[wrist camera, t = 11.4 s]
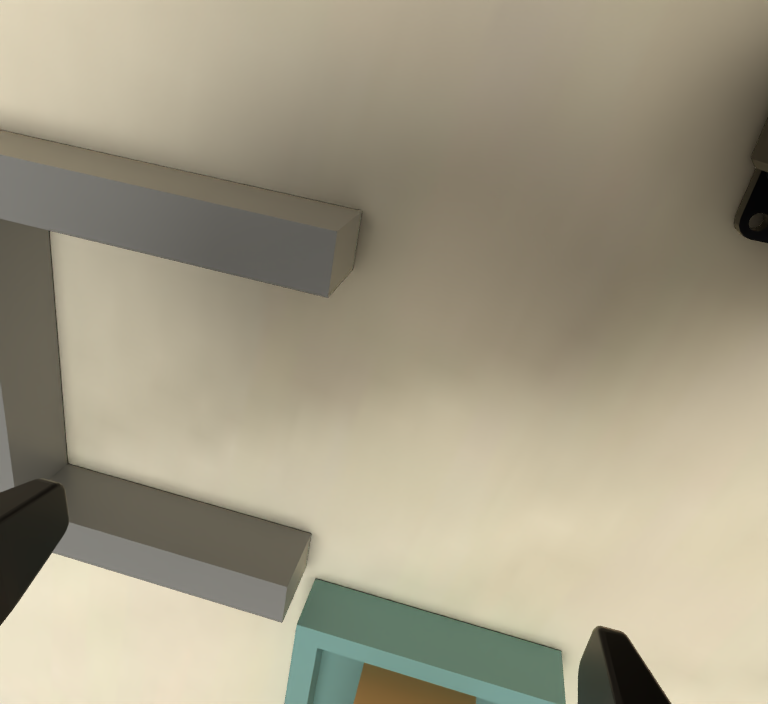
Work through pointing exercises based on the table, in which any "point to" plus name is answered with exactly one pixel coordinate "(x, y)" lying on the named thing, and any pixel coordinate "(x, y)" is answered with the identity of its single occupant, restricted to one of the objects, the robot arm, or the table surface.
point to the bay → (42, 370)
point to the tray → (411, 652)
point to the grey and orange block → (403, 689)
